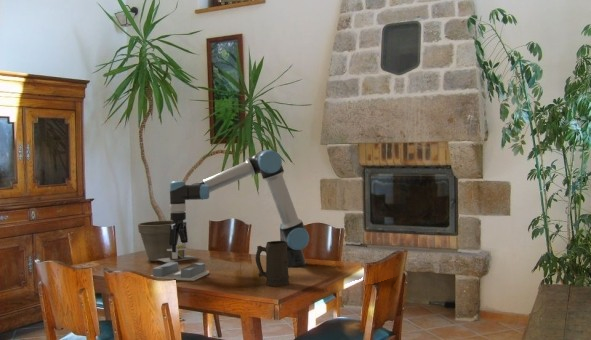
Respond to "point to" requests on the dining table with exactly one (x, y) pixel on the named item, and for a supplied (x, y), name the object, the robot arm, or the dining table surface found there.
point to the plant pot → (156, 238)
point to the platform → (180, 255)
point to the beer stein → (274, 263)
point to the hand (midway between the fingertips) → (179, 257)
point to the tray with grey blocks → (180, 271)
